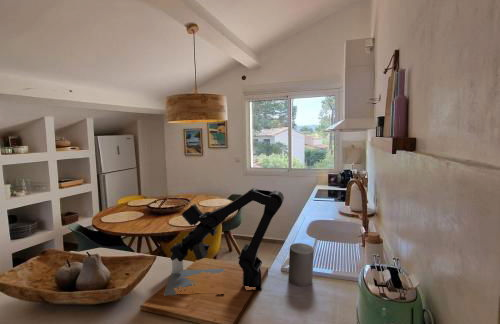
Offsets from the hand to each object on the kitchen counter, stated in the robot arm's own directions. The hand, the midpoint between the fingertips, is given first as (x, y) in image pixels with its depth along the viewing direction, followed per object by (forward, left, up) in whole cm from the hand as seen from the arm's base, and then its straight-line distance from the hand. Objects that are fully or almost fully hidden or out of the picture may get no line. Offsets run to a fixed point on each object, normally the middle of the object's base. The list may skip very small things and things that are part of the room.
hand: (174, 257), depth 113 cm
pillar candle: (-52, +8, -8) cm, 53 cm away
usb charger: (-1, 0, -6) cm, 6 cm away
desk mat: (-10, +7, -8) cm, 14 cm away
